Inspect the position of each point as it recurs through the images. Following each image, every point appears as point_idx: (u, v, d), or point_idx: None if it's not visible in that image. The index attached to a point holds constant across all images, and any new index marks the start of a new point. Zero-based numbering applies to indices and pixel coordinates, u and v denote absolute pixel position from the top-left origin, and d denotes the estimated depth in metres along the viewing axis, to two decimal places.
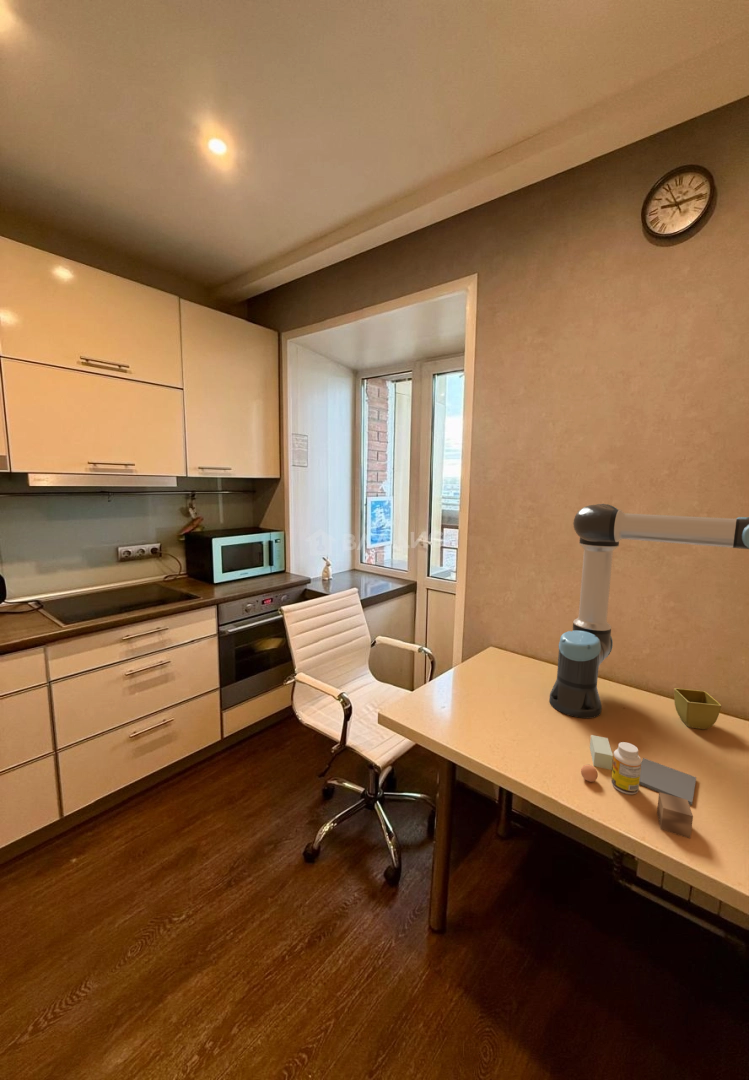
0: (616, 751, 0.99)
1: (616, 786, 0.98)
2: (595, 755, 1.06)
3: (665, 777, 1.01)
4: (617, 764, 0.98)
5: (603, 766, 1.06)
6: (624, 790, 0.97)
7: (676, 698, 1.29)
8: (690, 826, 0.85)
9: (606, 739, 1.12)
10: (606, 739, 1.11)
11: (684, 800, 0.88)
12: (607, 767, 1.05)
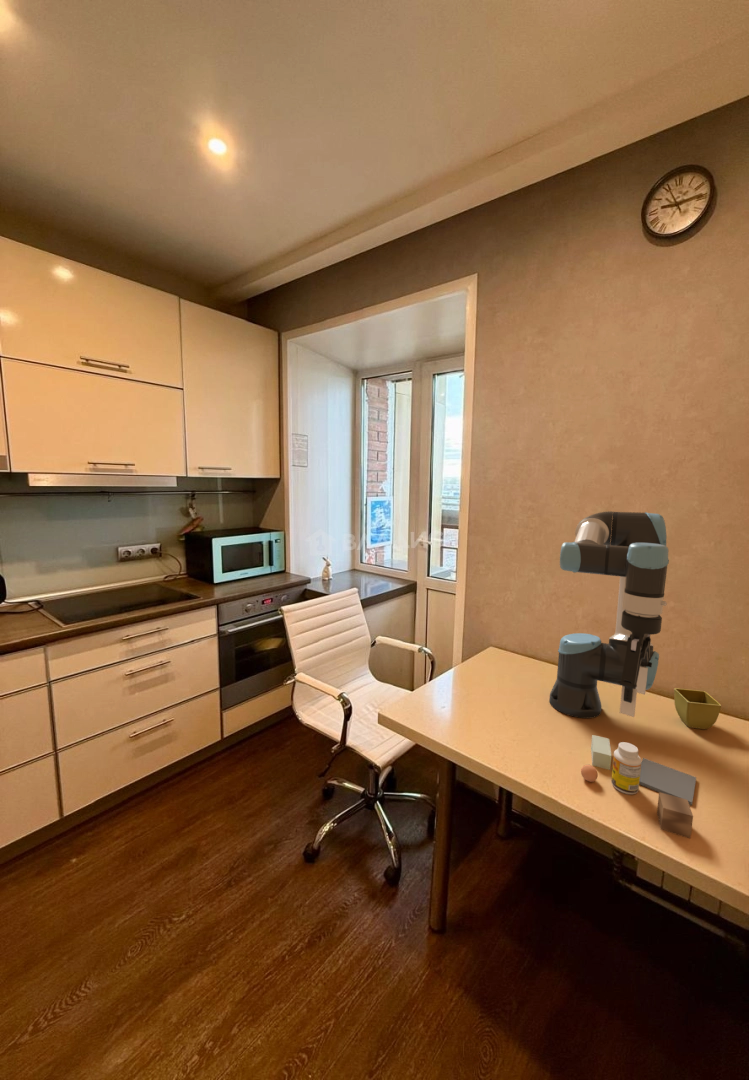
0: (616, 751, 0.99)
1: (616, 786, 0.98)
2: (594, 754, 1.06)
3: (665, 777, 1.01)
4: (617, 764, 0.98)
5: (601, 765, 1.06)
6: (624, 790, 0.97)
7: (676, 698, 1.29)
8: (690, 826, 0.85)
9: (607, 739, 1.11)
10: (607, 740, 1.11)
11: (684, 800, 0.88)
12: (606, 767, 1.06)
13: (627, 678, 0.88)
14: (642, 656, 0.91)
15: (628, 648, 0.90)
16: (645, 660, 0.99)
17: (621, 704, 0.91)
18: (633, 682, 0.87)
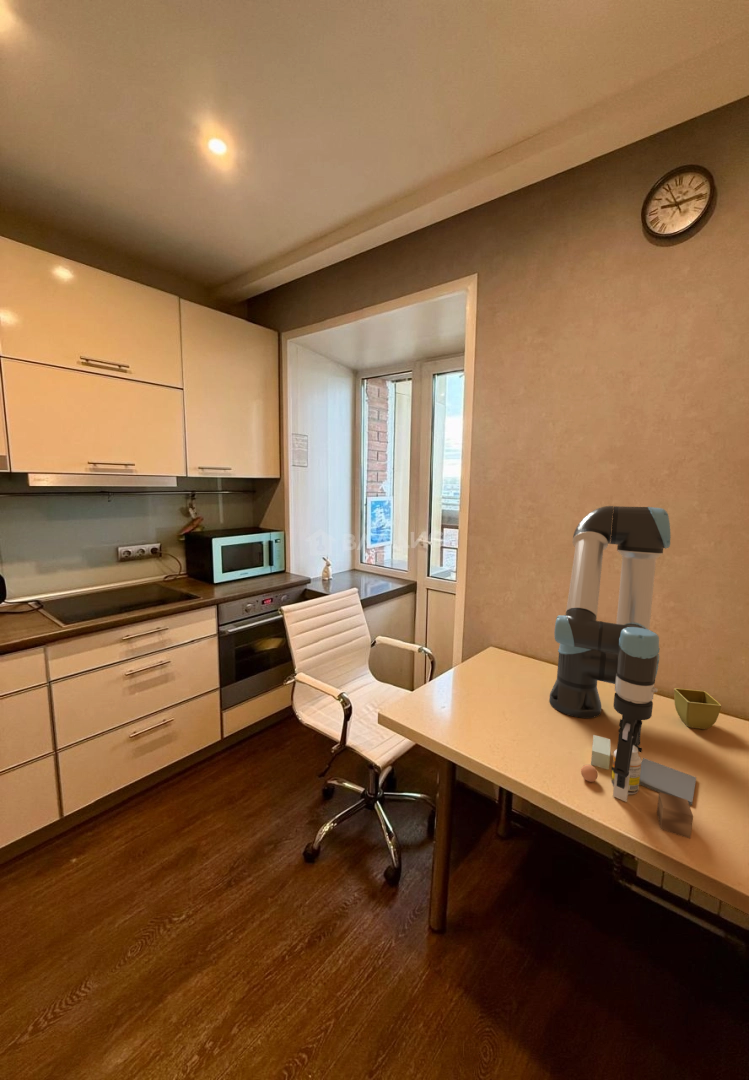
0: (616, 751, 0.99)
1: None
2: (592, 754, 1.07)
3: (665, 777, 1.01)
4: None
5: (600, 765, 1.06)
6: None
7: (676, 698, 1.29)
8: (690, 826, 0.85)
9: (608, 740, 1.11)
10: (608, 740, 1.11)
11: (684, 800, 0.88)
12: (604, 767, 1.06)
13: (619, 767, 0.92)
14: (634, 742, 0.94)
15: (620, 737, 0.93)
16: (635, 744, 1.01)
17: (615, 788, 0.95)
18: (625, 771, 0.91)
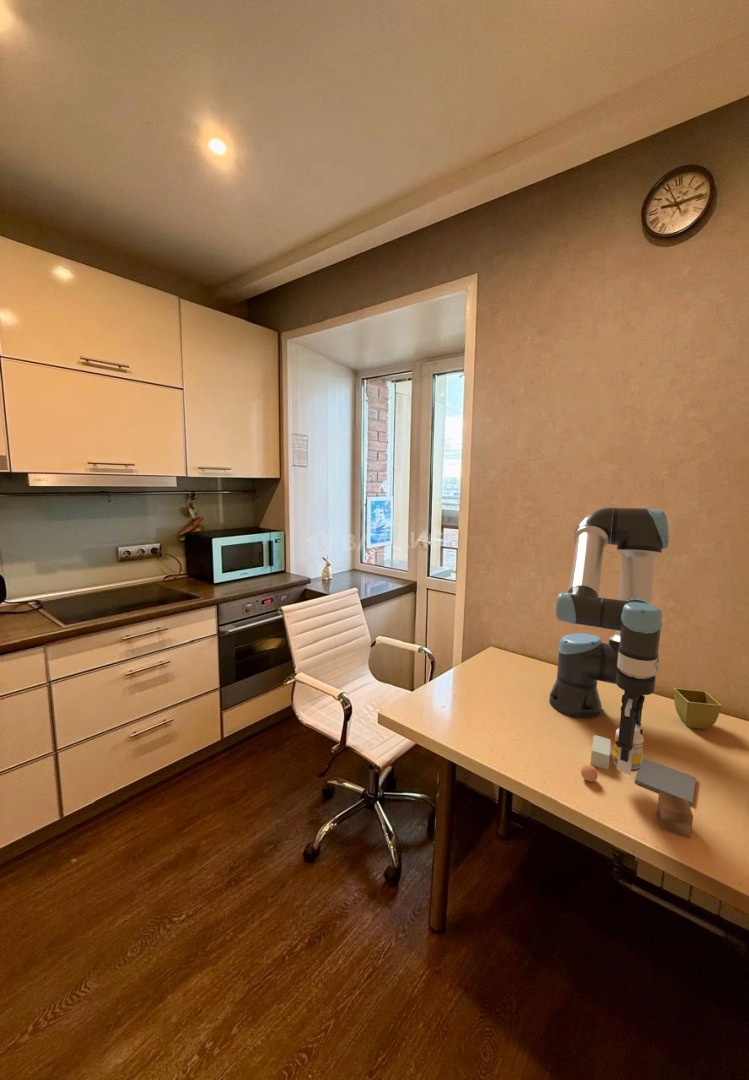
0: (618, 730, 0.99)
1: None
2: (592, 753, 1.07)
3: (665, 777, 1.01)
4: None
5: (599, 765, 1.06)
6: None
7: (676, 698, 1.29)
8: (690, 826, 0.85)
9: (608, 740, 1.11)
10: (608, 740, 1.11)
11: (684, 800, 0.88)
12: (604, 767, 1.06)
13: (623, 742, 0.93)
14: (636, 718, 0.94)
15: (622, 714, 0.93)
16: None
17: (618, 762, 0.97)
18: (629, 746, 0.92)
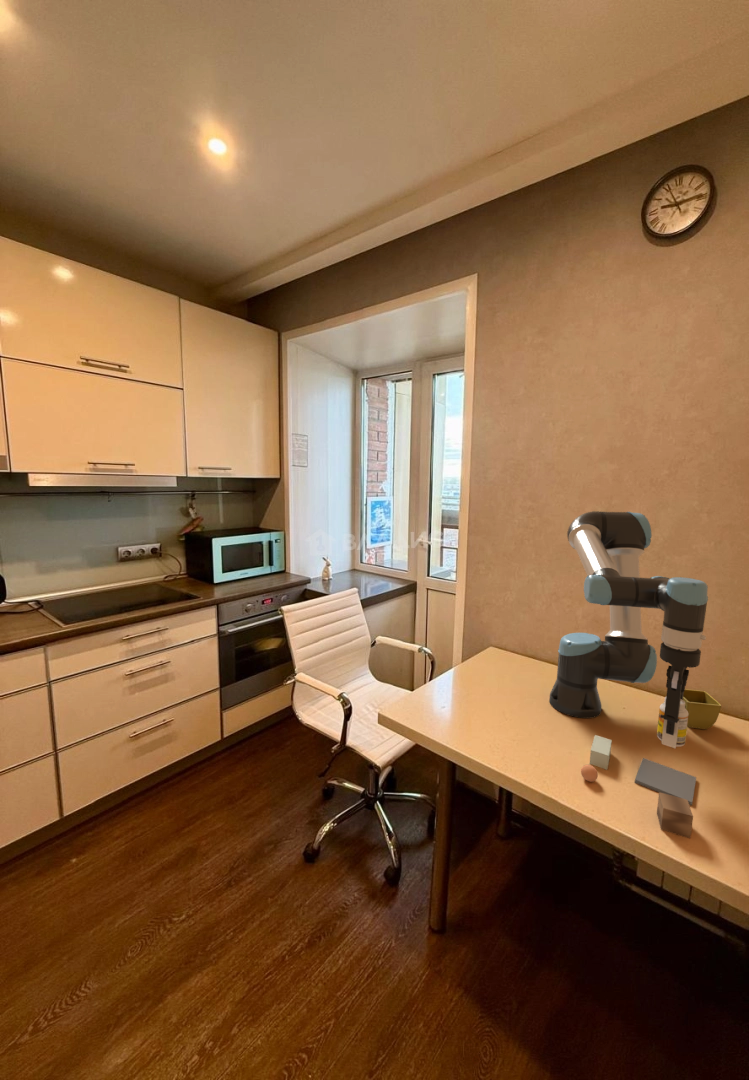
0: (662, 705, 1.00)
1: None
2: (591, 753, 1.07)
3: (665, 777, 1.01)
4: None
5: (598, 765, 1.06)
6: None
7: None
8: (690, 826, 0.85)
9: (609, 741, 1.11)
10: (609, 741, 1.11)
11: (684, 800, 0.88)
12: (603, 766, 1.06)
13: (670, 714, 0.94)
14: (682, 690, 0.95)
15: (669, 686, 0.94)
16: (680, 699, 1.00)
17: (663, 736, 0.98)
18: (676, 718, 0.93)
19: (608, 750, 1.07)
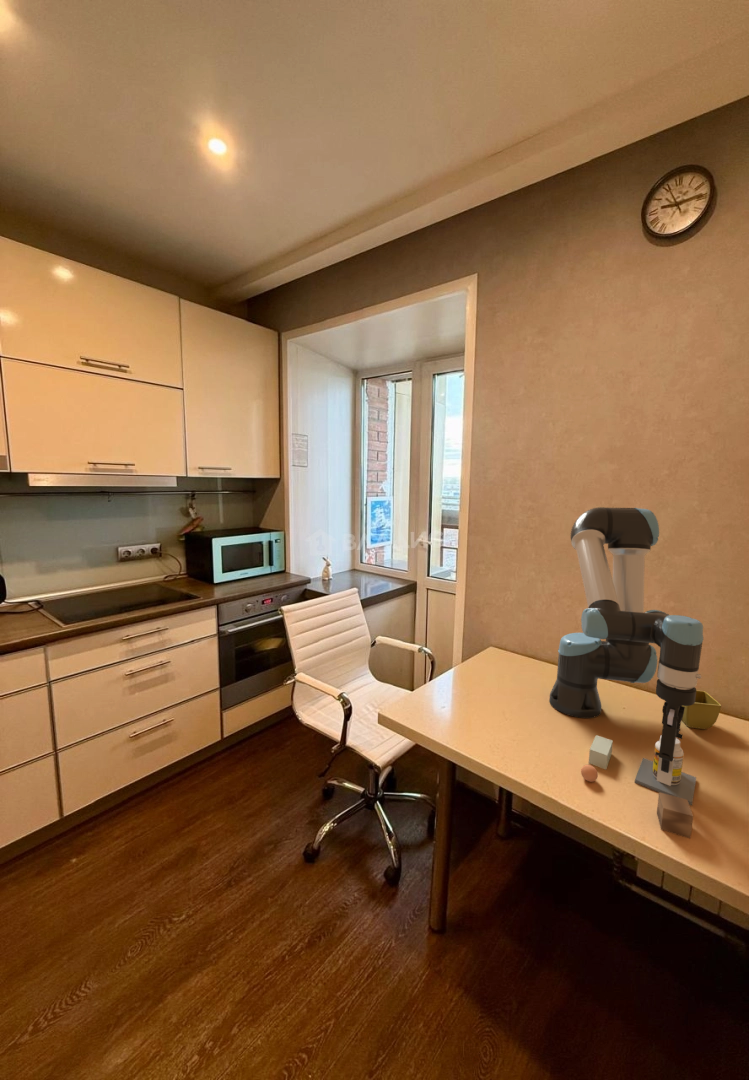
0: (658, 743, 1.01)
1: None
2: (590, 752, 1.07)
3: None
4: None
5: (597, 764, 1.06)
6: None
7: None
8: (690, 826, 0.85)
9: (610, 741, 1.11)
10: (610, 741, 1.11)
11: (684, 800, 0.88)
12: (602, 766, 1.06)
13: (665, 752, 0.94)
14: (678, 728, 0.96)
15: (664, 723, 0.95)
16: (677, 730, 1.02)
17: (658, 773, 0.97)
18: (671, 756, 0.93)
19: (607, 750, 1.07)
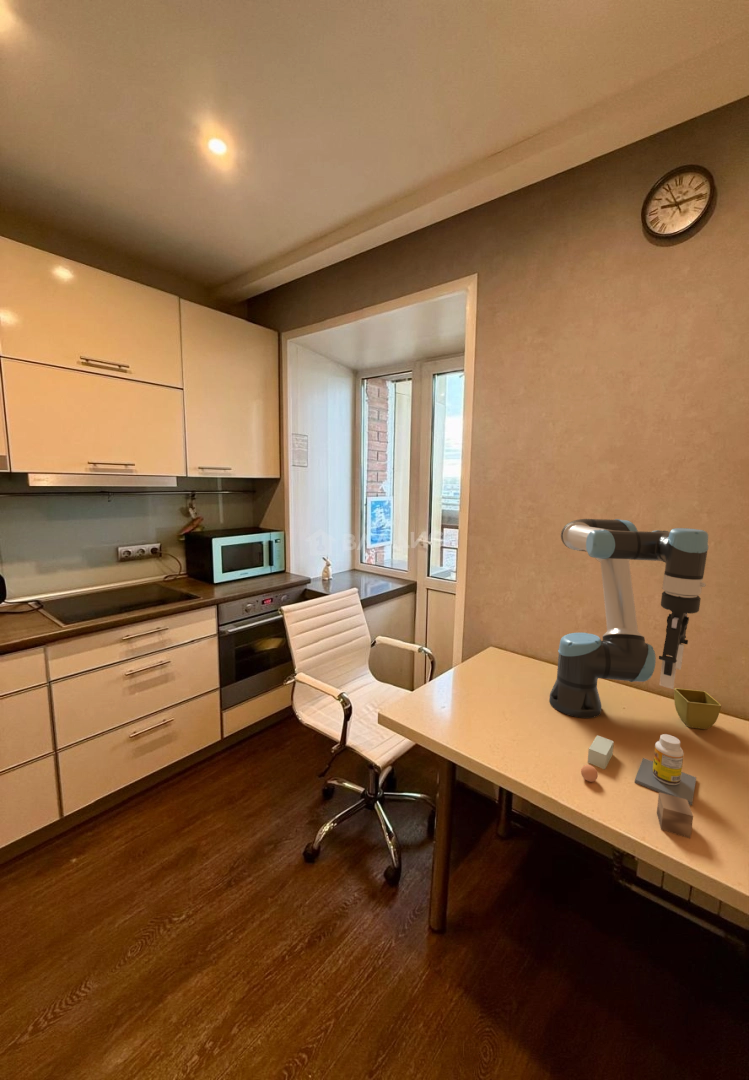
0: (658, 743, 1.01)
1: (658, 777, 1.00)
2: (589, 752, 1.07)
3: None
4: (659, 756, 1.00)
5: (596, 764, 1.06)
6: (666, 781, 0.99)
7: (676, 698, 1.29)
8: (690, 826, 0.85)
9: (611, 741, 1.10)
10: (611, 742, 1.10)
11: (684, 800, 0.88)
12: (600, 766, 1.06)
13: (668, 653, 0.96)
14: (681, 633, 0.98)
15: (669, 626, 0.97)
16: (682, 638, 1.06)
17: (661, 678, 0.99)
18: (674, 657, 0.95)
19: (607, 750, 1.07)
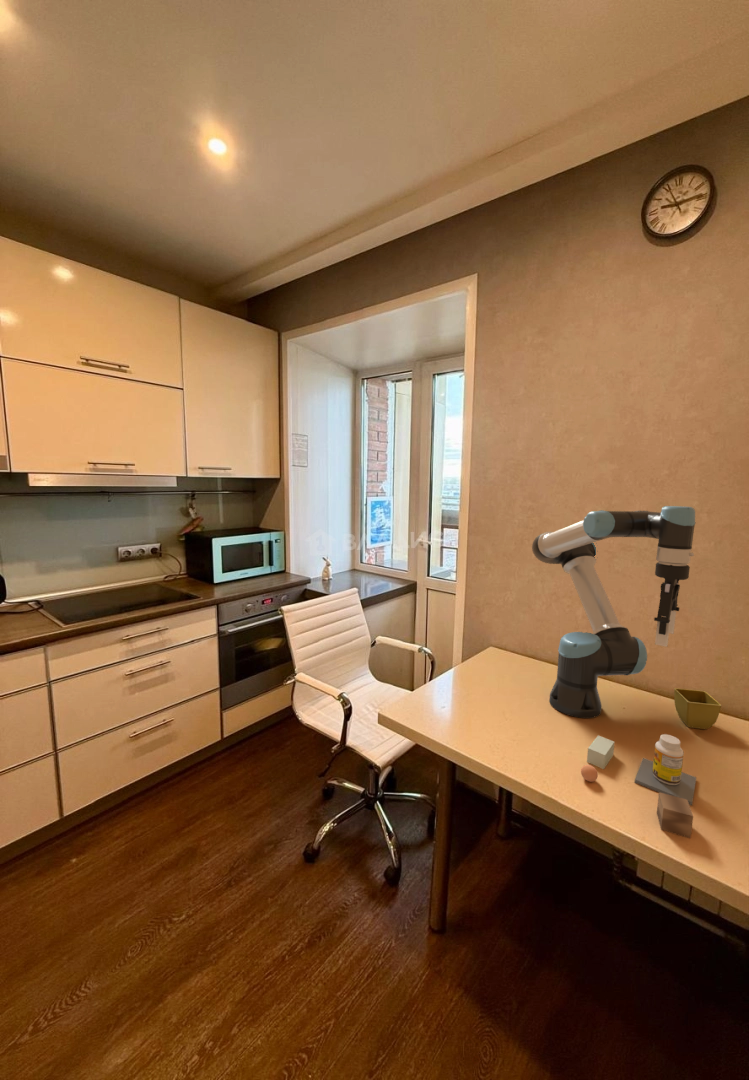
0: (658, 743, 1.01)
1: (658, 777, 1.00)
2: (588, 751, 1.08)
3: None
4: (659, 756, 1.00)
5: (595, 763, 1.07)
6: (666, 781, 0.99)
7: (676, 698, 1.29)
8: (690, 826, 0.85)
9: (612, 742, 1.10)
10: (611, 742, 1.10)
11: (684, 800, 0.88)
12: (599, 766, 1.06)
13: (662, 614, 1.08)
14: (673, 597, 1.11)
15: (662, 590, 1.10)
16: (674, 605, 1.19)
17: (656, 637, 1.12)
18: (667, 616, 1.08)
19: (606, 750, 1.07)
